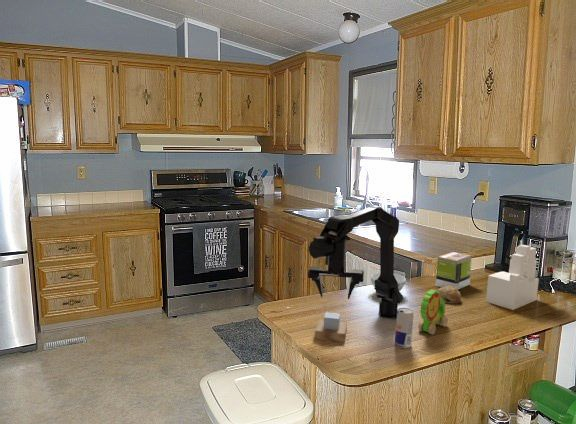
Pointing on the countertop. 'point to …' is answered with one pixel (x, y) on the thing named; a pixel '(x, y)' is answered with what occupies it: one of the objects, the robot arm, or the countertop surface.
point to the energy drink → (404, 327)
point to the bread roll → (450, 294)
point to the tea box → (453, 270)
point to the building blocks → (515, 281)
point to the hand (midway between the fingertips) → (335, 297)
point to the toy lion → (432, 312)
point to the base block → (331, 332)
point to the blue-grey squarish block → (331, 321)
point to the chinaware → (399, 278)
